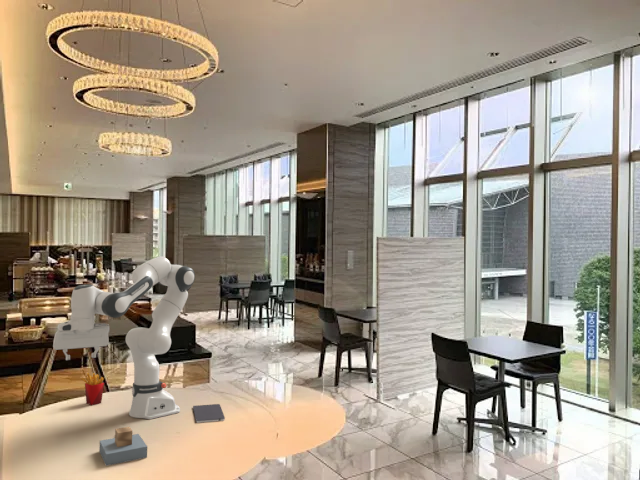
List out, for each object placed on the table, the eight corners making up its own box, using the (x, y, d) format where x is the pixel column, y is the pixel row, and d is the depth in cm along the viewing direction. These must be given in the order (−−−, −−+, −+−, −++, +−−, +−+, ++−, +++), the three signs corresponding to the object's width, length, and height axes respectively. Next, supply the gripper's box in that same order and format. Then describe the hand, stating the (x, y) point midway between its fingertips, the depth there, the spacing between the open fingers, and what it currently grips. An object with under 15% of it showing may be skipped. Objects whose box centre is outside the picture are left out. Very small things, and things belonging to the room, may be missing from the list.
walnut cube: (128, 439, 182) (129, 426, 183) (131, 444, 178) (132, 430, 178) (114, 442, 180) (115, 428, 180) (117, 447, 175) (118, 433, 176)
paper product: (192, 409, 233) (196, 424, 213) (193, 405, 233) (196, 420, 213) (219, 407, 237) (225, 421, 217) (219, 403, 237) (225, 418, 217)
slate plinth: (138, 444, 188) (138, 433, 189) (147, 457, 177) (147, 446, 177) (99, 451, 181) (99, 440, 181) (105, 465, 169) (106, 454, 169)
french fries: (96, 400, 240) (97, 370, 241) (105, 403, 236) (107, 372, 236) (79, 404, 233) (80, 373, 234) (88, 408, 228) (89, 376, 229)
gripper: (108, 322, 204) (107, 354, 204) (53, 324, 193) (52, 359, 193) (111, 324, 199) (109, 357, 199) (54, 327, 188) (53, 362, 187)
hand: (80, 358), depth 196 cm, fingers open, 8 cm apart
